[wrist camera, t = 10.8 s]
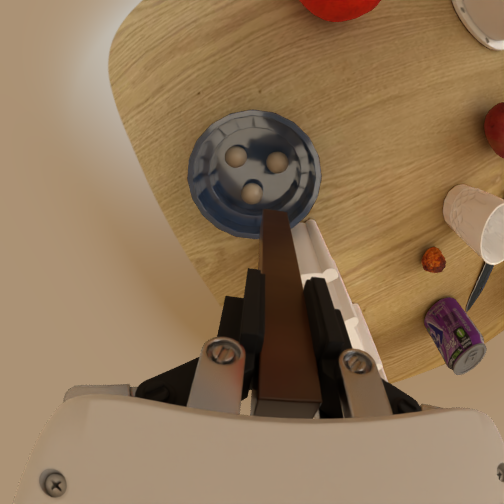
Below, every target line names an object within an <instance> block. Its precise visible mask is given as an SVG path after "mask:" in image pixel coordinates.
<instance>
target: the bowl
mask: <svg viewBox="0 0 504 504" xmlns="http://www.w3.org/2000/svg"><path fill="white" fill-rule="evenodd" d="M233 146H239V147H242V148H243V149H244V150H245V151H246V153H247V160H246V162H245V164H244V165H243V166H241V167H238V168H233V167H231V166H229V165H228V164H227V163H226V161H225V153H226V151H227V150H228V149H229V148H230V147H233ZM273 152H282V153H283V154H285V155H286V156H287V158H288V162H289V164H288V167H287V169H286V170H285V171H284V172H282V173H273V172H271V171H270V170H269V169H268V167H267V165H266V160H267V157H268V156H269V155H270V154H271V153H273ZM321 177H322V176H321V168H320V161H319V156H318V154H317V152H316V150H315V148H314V146H313V144H312V142H311V140H310V138H309V137H308V136H307V135H306V134H305V133H304V132H303V131H302V130H301V129H300V128H299V127H298V126H297V125H296V124H295V123H294V122H292V121H290V120H288V119H286V118H284V117H282V116H280V115H278V114H276V113H273V112H267V111H259V110H247V111H241V112H236V113H231V114H229V115H227V116H225V117H223V118H221V119H220V120H218V121H216V122H214V123H213V124H211V125H210V126H209V127H208V128H207V129H206V131H205V132H204V133H203V134H202V135H201V136H200V137H199V138H198V140H197V141H196V144H195V146H194V148H193V151H192V153H191V155H190V158H189V164H188V177H187V179H188V184H189V188H190V192H191V196H192V199H193V201H194V202H195V204H196V206H197V207H198V209H199V210H200V212H201V214H202V215H203V216H204V217H205V218H206V219H207V220H208V221H210V222H211V223H212V224H213V225H214V226H215V227H217V228H218V229H220V230H222V231H224V232H227V233H229V234H231V235H233V236H236V237H242V238H249V239H260V227H261V221H262V214H263V209H269V210H276V211H283V212H287V215H288V219H289V224H290V228H291V229H292V228H294V227H295V226H296V225H297V224H298V223H299V222H300V221H301V220H302V219H303V218H305V217H306V216H307V214H308V213H309V211H310V210H311V208H312V206H313V204H314V203H315V201H316V199H317V197H318V193H319V188H320V183H321ZM249 183H255V184H257V185H259V186H260V187H261V189H262V191H263V196H262V199H261V200H260V201H259V202H258V203H256V204H248V203H246V202H245V201H244V200H243V199H242V196H241V191H242V189H243V187H244V186H245V185H246V184H249Z"/></svg>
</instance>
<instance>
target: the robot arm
mask: <svg viewBox="0 0 504 504" xmlns="http://www.w3.org/2000/svg"><path fill="white" fill-rule="evenodd" d="M452 3H453V6H454V8H455V10H456V12H457V14H458V16H459V18H460V19H461V21H462V22H463V24H464V25H465V27H466V28H467V29H468V31H469V32H470V33H471V34H472V35H473V36H474V37H475V38H476V39H477V40H478V41H479V42H480V43H482V44H483V45H484V46H486V47H488V48H489V49H492V50H495V51H501V50H504V0H452ZM303 293H304V298H305V304H306V309H307V315H308V320H309V326H310V331H311V337H312V343H313V349H314V355H315V357H316V362H317V368H318V375H319V381H320V387H321V394H322V404H321V405H320V407H319V409H318V410H317V412H316V414H315V416H314V419H298V418H276V417H261V416H248V415H240V406H241V401H242V400H244V399H245V398H247V396H248V392H249V390H252V383H253V379H254V374H255V370H256V365H257V361H258V356H259V353H260V352H261V351H262V347H263V342H264V335H265V274H262V273H261V270H257V269H250V268H248V272H247V279H246V286H245V293H244V298H238V297H230V296H226V297H225V302H224V306H223V311H222V317H221V321H220V326H219V330H218V335H217V337H215V338H212V339H210V340H208V341H207V342H206V343H204V345H203V347H202V350H201V353H200V357H198V358H196V359H193V360H191V361H189V362H187V363H185V364H183V365H180V366H178V367H176V368H174V369H171V370H169V371H167V372H165V373H162V374H160V375H158V376H155V377H153V378H151V379H148V380H146V381H144V382H143V383H141V384H140V385H139V386H138V387H130V385H129V384H125V385H78V386H74V387H72V388H70V389H69V390H68V391H67V392H66V394H65V396H64V402H63V403H62V404H61V405H60V406H59V407H58V408H57V409H56V410H55V411H54V413H53V414H52V415H51V417H50V418H49V420H48V421H47V423H46V424H45V426H44V428H43V430H42V432H41V433H40V435H39V437H38V439H37V441H36V443H35V445H34V447H33V449H32V451H31V454H30V456H29V458H28V461H27V463H26V466H25V468H24V471H23V474H22V476H21V479H20V482H19V485H18V488H17V491H16V494H15V497H14V500H13V504H504V442H503V440H502V438H501V436H500V433H499V431H498V429H497V427H496V426H495V424H494V422H493V421H492V419H491V418H490V417H489V416H488V415H487V414H485V413H483V412H481V411H478V410H475V409H470V408H440V407H435V406H431V405H426V404H421V405H420V406H419V404H418V403H417V401H416V400H414V399H413V398H412V397H410V396H409V395H407V394H405V393H404V392H402V391H401V390H399V389H398V388H396V387H395V386H393V385H391V384H390V383H388V382H387V381H385V380H384V379H382V378H381V377H380V374H379V371H378V368H377V365H376V363H375V361H374V359H373V358H372V357H371V356H370V355H369V354H368V353H366V352H365V351H362V350H360V349H354V348H352V345H351V342H350V339H349V335H348V332H347V329H346V326H345V323H344V320H343V317H342V314H341V311H340V310H339V309H335V308H334V305H333V302H332V299H331V296H330V293H329V289H328V286H327V283H326V280H325V278H319V277H311V279H310V280H309V279H307V280H306V282H305V286H304V289H303Z"/></svg>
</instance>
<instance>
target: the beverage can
mask: <svg viewBox="0 0 504 504" xmlns="http://www.w3.org/2000/svg"><path fill="white" fill-rule="evenodd" d="M424 325H425V327H426V329H427V331H428V332H429V334H430V336H431V337H432V339H433V341H434V343H435V345H436V346H437V348H438V350H439V352H440V353H441V355H442V357H443V359H444V361H445V363H446V365H447V366H448V367H449V368H450V369H452V370H453V371H454V373H455V374H456V375H461V374H464V373H467V372H468V371H470V370H471V369H473V368H474V367H475V366H476V365H477V364H478V363H479V362H480V361H481V360H482V359H483V357H484V355H485V353H486V346H485V344H484V339H483V336H482V335H481V333H480V332H479V330H478V329H477V328H476V326H475V325H474V323H473V322H472V321H471V319H470V318H469V317H468V315H467V314H466V313H465V311H464V310H463V309H462V307H461V306H460V305H459V304H458V302H457V301H456V300H455V299H454V298H450V297H449V298H444V299H442V300H440V301H438V302H437V303H435V304H434V305H433V306H432V307H431V308H430V310H429V311H428V312H427V314H426V317H425V320H424Z"/></svg>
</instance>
